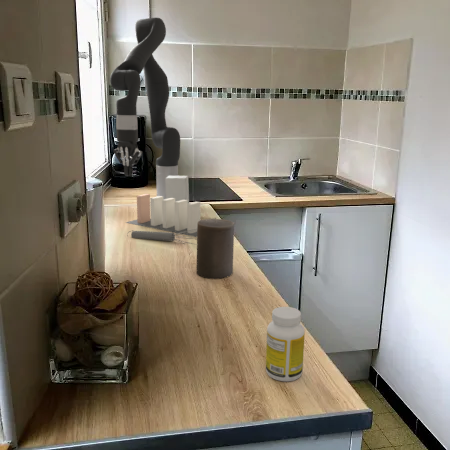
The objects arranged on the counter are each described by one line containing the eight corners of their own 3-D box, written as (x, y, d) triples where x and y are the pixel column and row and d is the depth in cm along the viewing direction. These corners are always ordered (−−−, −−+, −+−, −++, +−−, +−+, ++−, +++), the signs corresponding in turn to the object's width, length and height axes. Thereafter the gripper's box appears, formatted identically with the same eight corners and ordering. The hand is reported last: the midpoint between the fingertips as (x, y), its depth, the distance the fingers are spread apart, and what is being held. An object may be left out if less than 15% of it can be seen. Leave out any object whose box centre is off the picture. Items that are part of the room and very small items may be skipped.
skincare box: (189, 214, 195) (189, 175, 191) (186, 217, 188) (186, 178, 184) (169, 213, 195) (168, 174, 192) (165, 216, 189) (165, 177, 185)
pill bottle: (298, 363, 85) (302, 304, 82) (305, 383, 79) (309, 320, 76) (263, 363, 85) (265, 304, 82) (267, 383, 79) (270, 320, 76)
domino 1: (146, 220, 182) (146, 193, 179) (150, 220, 181) (149, 194, 178) (137, 222, 178) (136, 195, 175) (141, 223, 177) (140, 196, 174)
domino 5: (196, 229, 170) (196, 201, 167) (200, 230, 169) (200, 202, 166) (187, 232, 166) (187, 203, 163) (191, 233, 165) (191, 204, 162)
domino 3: (171, 224, 175) (171, 197, 173) (175, 225, 175) (175, 198, 172) (162, 227, 171) (162, 199, 169) (166, 228, 170) (166, 200, 168)
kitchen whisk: (132, 235, 163) (131, 217, 162) (225, 248, 152) (226, 228, 150) (122, 240, 158) (121, 221, 156) (218, 253, 146) (219, 233, 145)
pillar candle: (200, 280, 123) (202, 223, 119) (192, 267, 132) (193, 214, 128) (237, 277, 125) (239, 221, 122) (227, 265, 135) (229, 213, 131)
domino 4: (183, 227, 173) (183, 199, 170) (187, 227, 172) (187, 200, 169) (174, 230, 168) (174, 201, 166) (178, 230, 168) (178, 202, 165)
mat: (143, 218, 186) (143, 217, 186) (212, 231, 169) (212, 230, 169) (125, 223, 178) (125, 222, 178) (195, 237, 161) (195, 236, 161)
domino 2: (159, 222, 178) (159, 195, 176) (163, 223, 177) (163, 196, 175) (150, 225, 174) (150, 198, 172) (154, 226, 173) (154, 198, 171)
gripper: (106, 127, 175) (108, 175, 179) (133, 129, 168) (134, 178, 172) (121, 126, 181) (122, 173, 185) (147, 128, 174) (148, 176, 178)
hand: (128, 175), depth 179 cm, fingers closed
